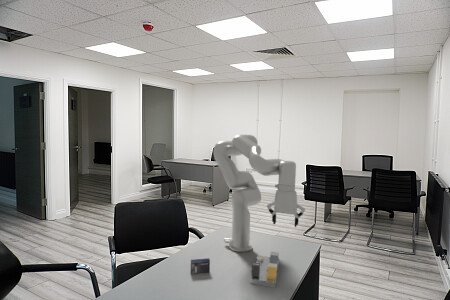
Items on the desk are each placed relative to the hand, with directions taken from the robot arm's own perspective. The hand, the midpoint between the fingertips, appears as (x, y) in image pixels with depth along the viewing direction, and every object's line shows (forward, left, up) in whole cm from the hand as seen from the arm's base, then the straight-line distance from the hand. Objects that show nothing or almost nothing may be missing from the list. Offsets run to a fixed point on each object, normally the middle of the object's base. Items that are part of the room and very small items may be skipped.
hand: (284, 224), depth 138 cm
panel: (-7, -7, -20) cm, 23 cm away
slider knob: (-11, -16, -18) cm, 26 cm away
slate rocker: (-4, -1, -16) cm, 17 cm away
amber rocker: (-4, -13, -16) cm, 22 cm away
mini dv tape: (-35, -16, -20) cm, 44 cm away
